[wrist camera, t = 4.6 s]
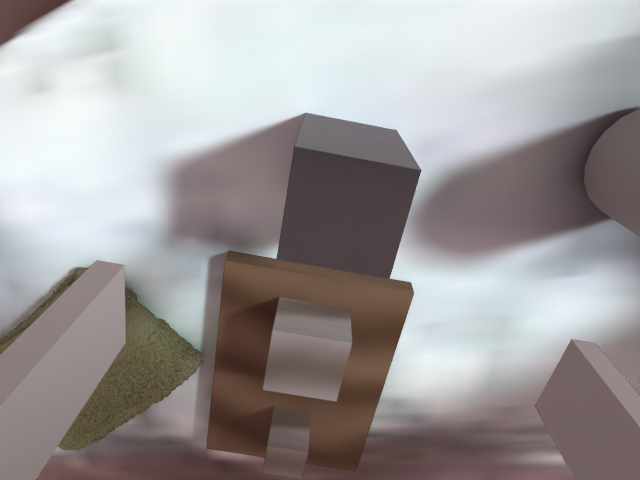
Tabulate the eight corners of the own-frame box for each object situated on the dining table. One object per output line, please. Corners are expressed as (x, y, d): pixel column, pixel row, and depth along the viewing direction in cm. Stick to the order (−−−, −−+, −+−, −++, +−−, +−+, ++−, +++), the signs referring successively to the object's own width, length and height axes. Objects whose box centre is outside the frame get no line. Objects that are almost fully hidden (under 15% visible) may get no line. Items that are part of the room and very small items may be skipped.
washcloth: (-27, 355, 39) (-57, 382, 36) (100, 248, 33) (77, 268, 31) (89, 439, 43) (72, 469, 40) (218, 355, 38) (208, 382, 35)
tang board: (229, 250, 33) (210, 290, 28) (410, 282, 33) (424, 326, 28) (210, 434, 41) (193, 489, 36) (355, 456, 42) (357, 513, 37)
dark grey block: (306, 112, 28) (294, 146, 20) (396, 130, 28) (421, 170, 20) (292, 198, 31) (276, 259, 23) (375, 214, 31) (389, 278, 23)
